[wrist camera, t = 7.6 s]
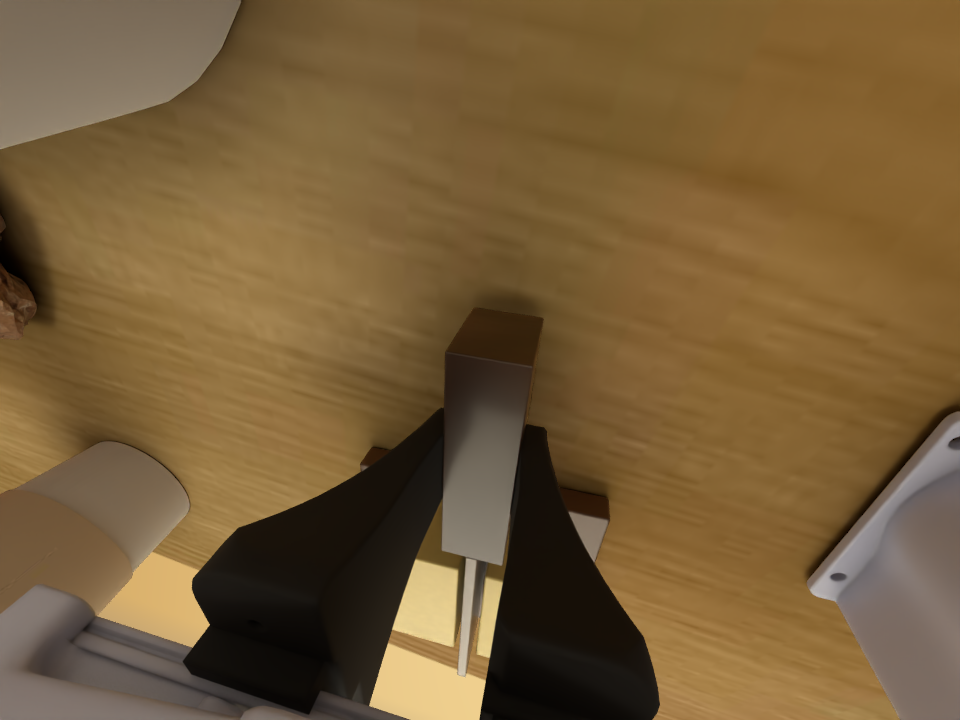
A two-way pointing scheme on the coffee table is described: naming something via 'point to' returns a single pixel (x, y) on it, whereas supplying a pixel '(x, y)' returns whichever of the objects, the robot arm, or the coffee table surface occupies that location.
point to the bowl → (100, 59)
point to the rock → (14, 303)
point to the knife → (484, 444)
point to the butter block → (433, 591)
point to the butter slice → (490, 605)
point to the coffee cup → (87, 524)
